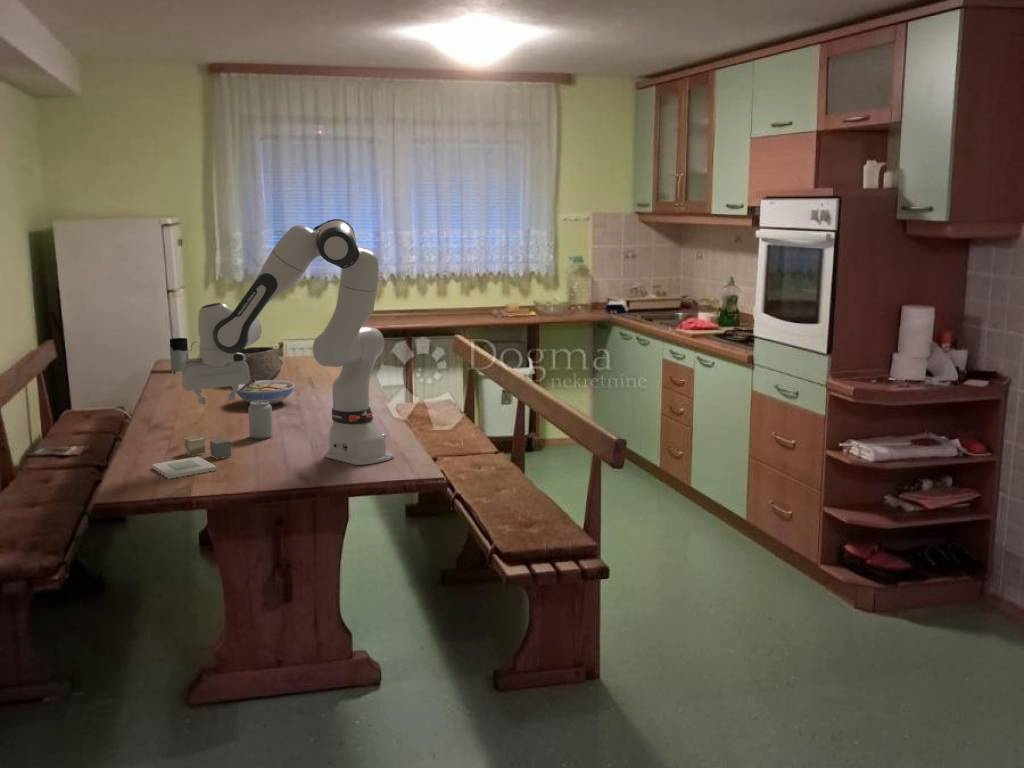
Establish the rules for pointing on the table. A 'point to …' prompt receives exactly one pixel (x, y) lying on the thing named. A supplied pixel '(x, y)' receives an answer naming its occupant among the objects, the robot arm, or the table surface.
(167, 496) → the table surface
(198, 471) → the build board
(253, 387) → the ramen bowl
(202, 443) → the birch block
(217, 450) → the grey block
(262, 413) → the can
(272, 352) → the clay pot
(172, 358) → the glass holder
